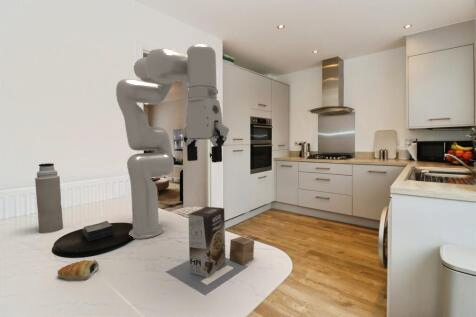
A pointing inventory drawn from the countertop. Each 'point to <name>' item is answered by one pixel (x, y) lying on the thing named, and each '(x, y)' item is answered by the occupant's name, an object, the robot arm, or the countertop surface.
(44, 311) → the countertop surface
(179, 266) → the letter tile
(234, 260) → the walnut block
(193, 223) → the coffee box
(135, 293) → the countertop surface
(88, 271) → the pastry
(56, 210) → the thermos bottle
